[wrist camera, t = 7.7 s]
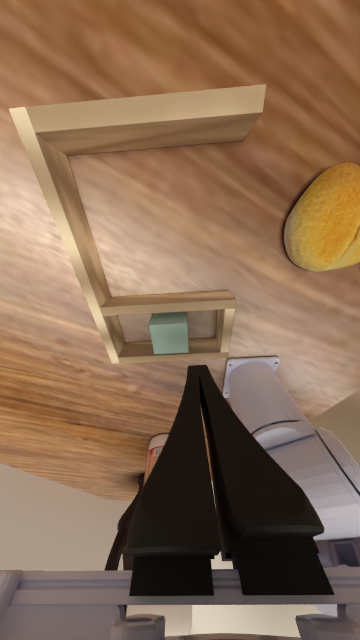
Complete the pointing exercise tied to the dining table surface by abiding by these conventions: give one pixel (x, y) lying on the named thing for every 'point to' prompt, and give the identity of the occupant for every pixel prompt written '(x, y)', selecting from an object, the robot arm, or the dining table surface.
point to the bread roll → (326, 221)
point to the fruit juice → (175, 615)
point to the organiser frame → (121, 135)
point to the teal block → (169, 332)
